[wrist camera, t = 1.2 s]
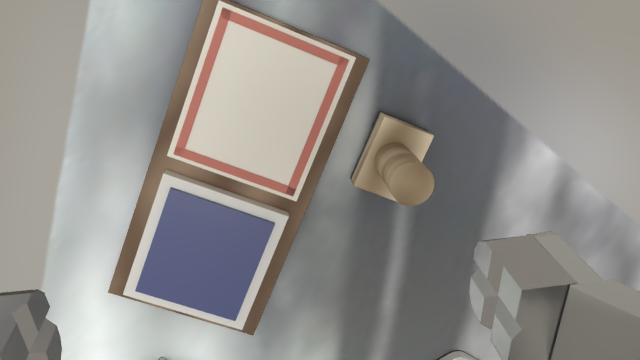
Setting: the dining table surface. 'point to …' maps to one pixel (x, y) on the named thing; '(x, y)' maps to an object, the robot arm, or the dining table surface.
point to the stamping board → (165, 162)
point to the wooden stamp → (395, 162)
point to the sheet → (259, 102)
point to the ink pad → (204, 250)
